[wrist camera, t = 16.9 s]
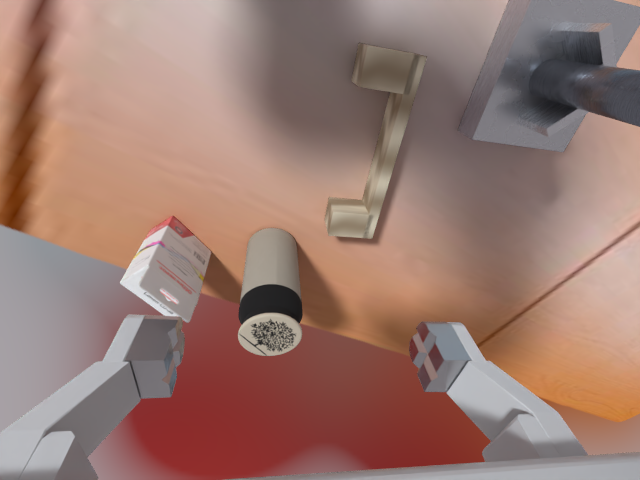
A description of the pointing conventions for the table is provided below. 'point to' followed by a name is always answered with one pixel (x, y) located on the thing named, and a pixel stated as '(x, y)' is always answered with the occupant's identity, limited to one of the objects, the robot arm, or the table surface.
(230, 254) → the table surface
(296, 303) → the travel mug
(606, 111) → the steel axle
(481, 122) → the v block
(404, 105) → the notched beam
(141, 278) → the ink cartridge box
